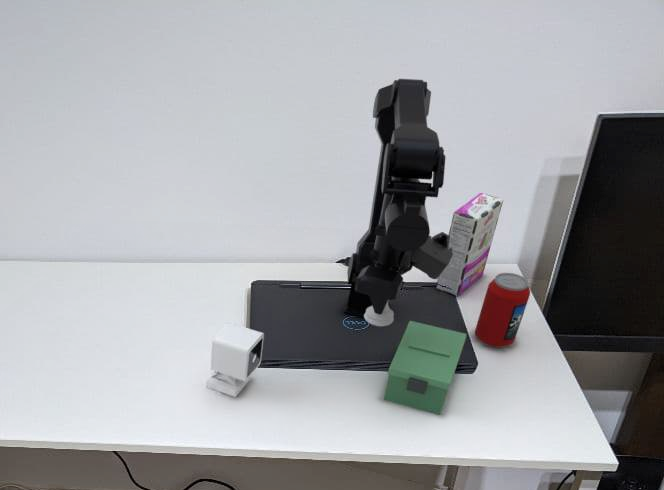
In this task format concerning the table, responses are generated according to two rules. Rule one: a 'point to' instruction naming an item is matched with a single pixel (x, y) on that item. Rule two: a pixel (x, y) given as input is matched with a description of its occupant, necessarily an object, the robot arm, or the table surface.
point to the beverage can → (502, 310)
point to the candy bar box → (470, 242)
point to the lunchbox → (424, 367)
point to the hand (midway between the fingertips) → (380, 308)
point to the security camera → (234, 358)
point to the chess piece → (379, 316)
